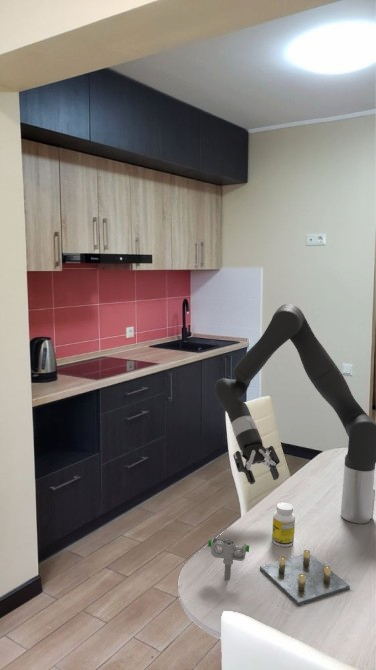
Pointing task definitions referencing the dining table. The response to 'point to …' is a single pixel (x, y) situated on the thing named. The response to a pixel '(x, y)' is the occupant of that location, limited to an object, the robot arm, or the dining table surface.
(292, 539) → the pill bottle
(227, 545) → the mechanical component
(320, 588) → the plate
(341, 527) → the dining table surface
